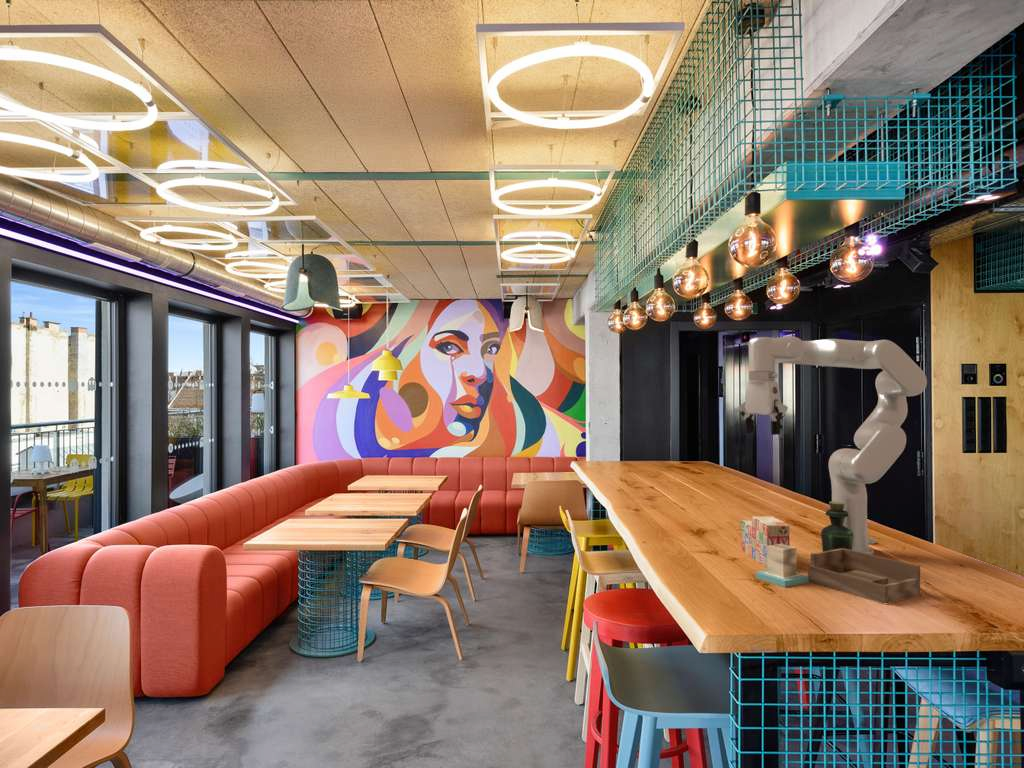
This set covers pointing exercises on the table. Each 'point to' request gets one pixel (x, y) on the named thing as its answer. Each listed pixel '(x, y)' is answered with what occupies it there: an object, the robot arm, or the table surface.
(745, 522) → the stack of blocks
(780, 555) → the beech block
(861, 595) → the brown wooden tray
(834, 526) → the potion bottle
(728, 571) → the table surface
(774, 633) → the table surface
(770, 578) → the teal picture frame
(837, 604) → the table surface
